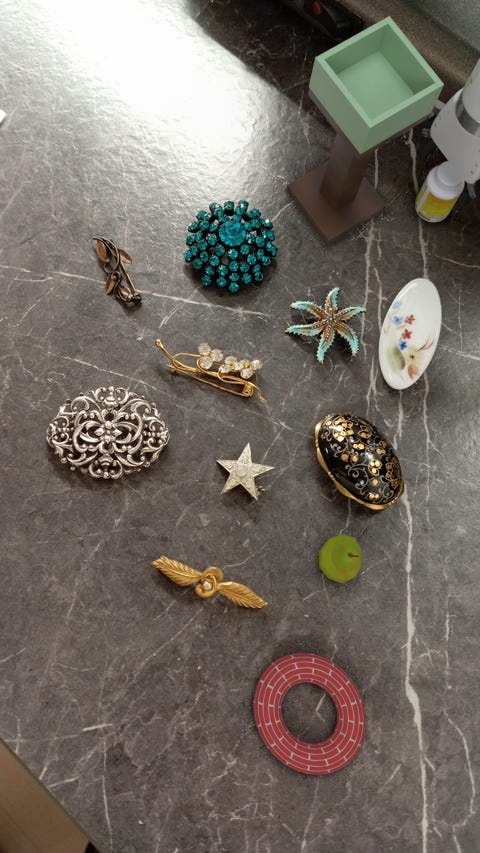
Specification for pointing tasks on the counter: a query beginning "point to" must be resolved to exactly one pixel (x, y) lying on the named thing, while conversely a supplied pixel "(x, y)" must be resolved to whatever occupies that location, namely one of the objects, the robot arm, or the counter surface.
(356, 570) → the fruit
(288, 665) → the torus
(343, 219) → the stand
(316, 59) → the bin
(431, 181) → the supplement bottle
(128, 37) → the counter surface
